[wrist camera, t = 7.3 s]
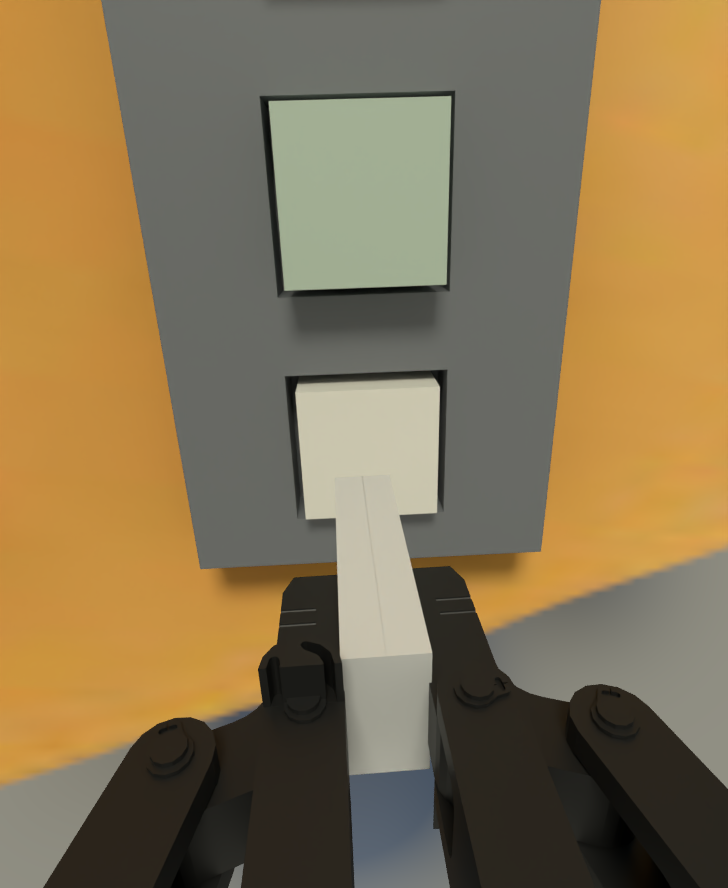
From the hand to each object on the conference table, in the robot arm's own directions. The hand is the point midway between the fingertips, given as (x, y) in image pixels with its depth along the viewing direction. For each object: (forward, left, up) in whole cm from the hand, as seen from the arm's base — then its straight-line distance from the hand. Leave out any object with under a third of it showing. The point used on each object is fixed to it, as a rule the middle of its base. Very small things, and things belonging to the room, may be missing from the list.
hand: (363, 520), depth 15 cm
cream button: (0, 0, -7) cm, 7 cm away
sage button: (0, +8, -6) cm, 10 cm away
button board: (0, +8, -8) cm, 12 cm away
